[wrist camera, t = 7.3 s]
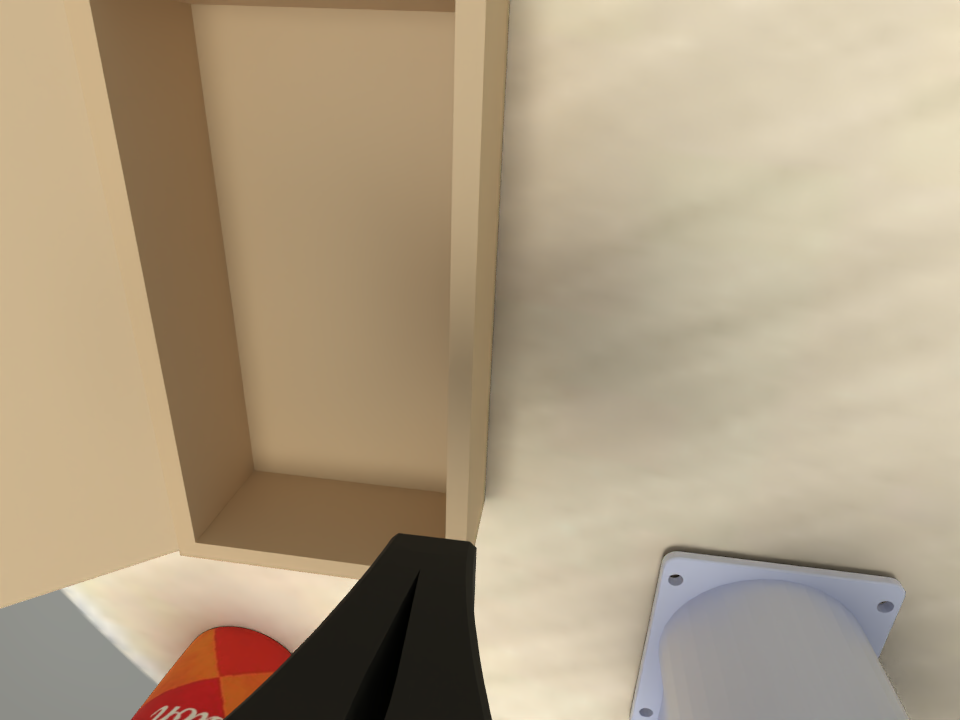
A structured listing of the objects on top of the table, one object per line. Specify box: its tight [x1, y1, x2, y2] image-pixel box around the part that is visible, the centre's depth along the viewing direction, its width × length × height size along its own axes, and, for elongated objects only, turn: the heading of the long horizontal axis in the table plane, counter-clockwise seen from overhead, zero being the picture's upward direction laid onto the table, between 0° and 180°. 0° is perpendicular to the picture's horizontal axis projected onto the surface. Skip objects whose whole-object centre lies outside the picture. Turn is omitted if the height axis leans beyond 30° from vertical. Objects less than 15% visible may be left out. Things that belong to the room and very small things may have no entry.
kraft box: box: [63, 0, 510, 580], centre depth 18 cm, size 16×9×4 cm, turn 178°
